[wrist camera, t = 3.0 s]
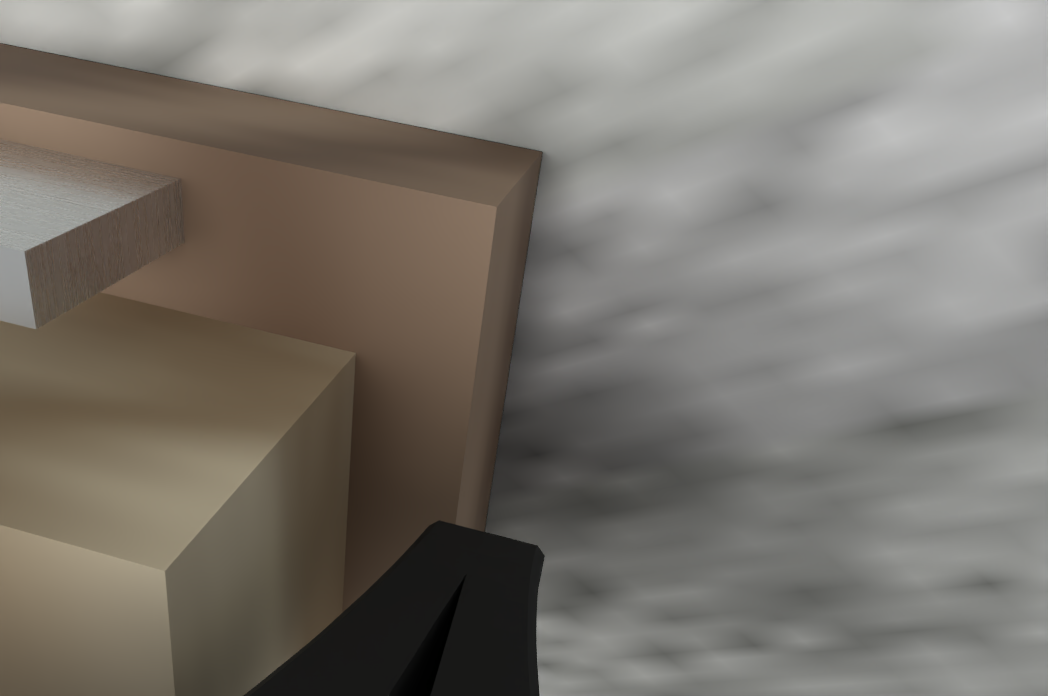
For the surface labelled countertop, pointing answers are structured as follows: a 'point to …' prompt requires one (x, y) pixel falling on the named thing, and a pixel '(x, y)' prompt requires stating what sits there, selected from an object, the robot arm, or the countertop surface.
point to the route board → (326, 263)
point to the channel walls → (76, 228)
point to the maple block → (166, 501)
